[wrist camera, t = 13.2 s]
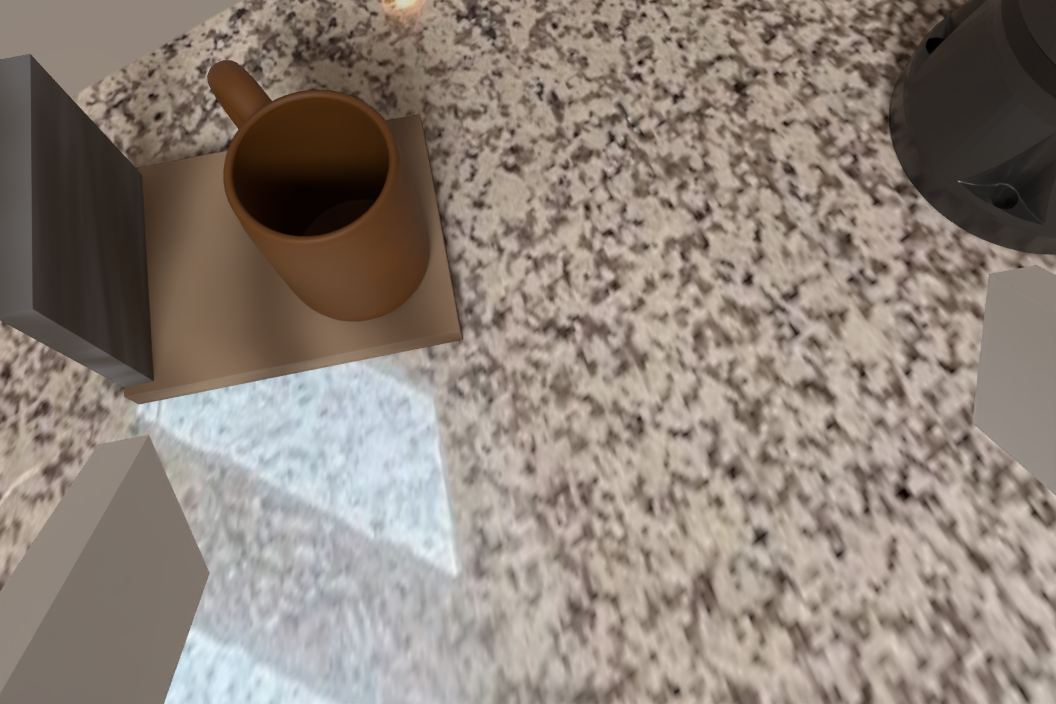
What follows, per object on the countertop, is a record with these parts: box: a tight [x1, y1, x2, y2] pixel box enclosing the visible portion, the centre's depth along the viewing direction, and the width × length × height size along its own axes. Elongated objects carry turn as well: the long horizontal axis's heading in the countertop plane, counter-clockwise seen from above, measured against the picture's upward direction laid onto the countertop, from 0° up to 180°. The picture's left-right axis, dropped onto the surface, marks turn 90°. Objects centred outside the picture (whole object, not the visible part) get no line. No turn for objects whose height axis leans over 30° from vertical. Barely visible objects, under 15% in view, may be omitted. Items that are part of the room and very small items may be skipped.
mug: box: [207, 60, 430, 322], centre depth 39 cm, size 12×8×9 cm, turn 41°
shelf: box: [0, 54, 463, 404], centre depth 39 cm, size 17×13×12 cm
